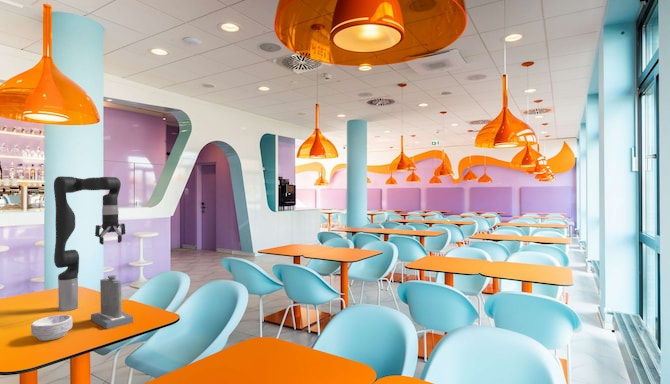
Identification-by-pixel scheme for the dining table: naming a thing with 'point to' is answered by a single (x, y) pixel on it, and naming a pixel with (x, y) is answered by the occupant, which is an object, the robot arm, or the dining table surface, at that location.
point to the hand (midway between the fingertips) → (110, 243)
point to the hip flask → (111, 297)
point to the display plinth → (111, 320)
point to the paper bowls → (51, 327)
